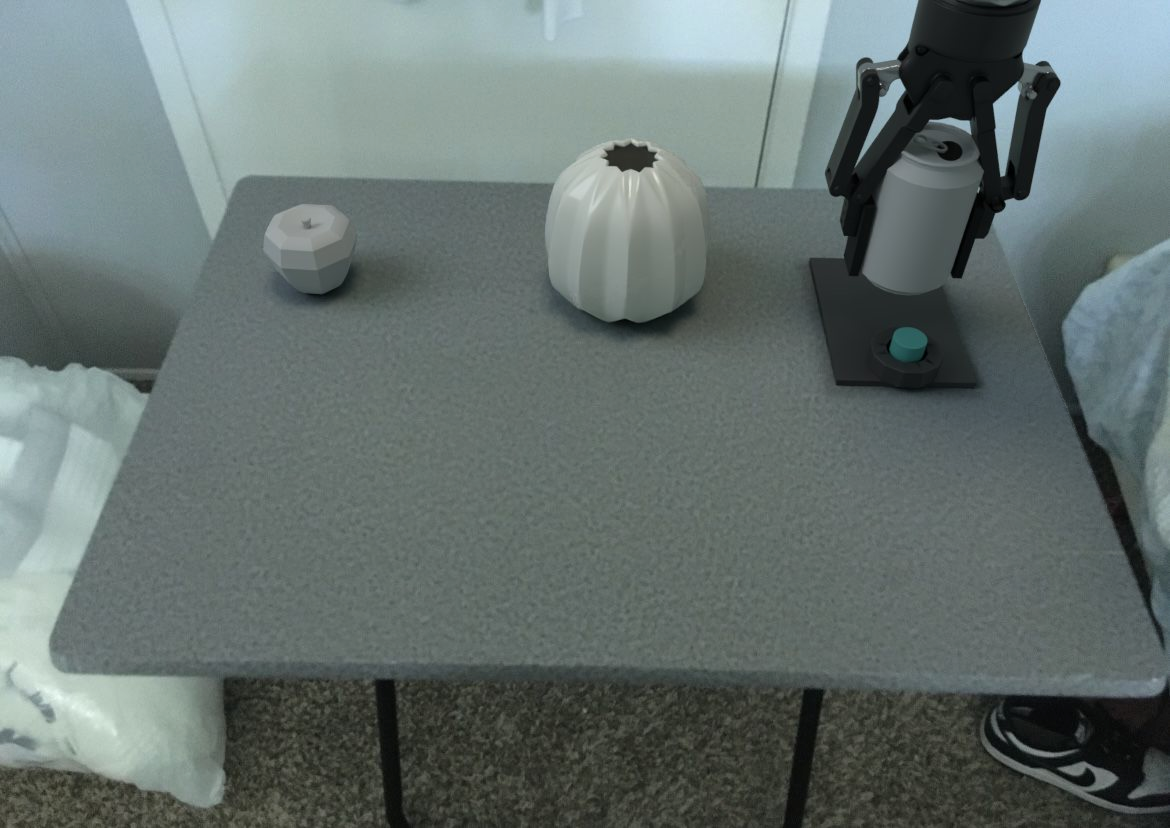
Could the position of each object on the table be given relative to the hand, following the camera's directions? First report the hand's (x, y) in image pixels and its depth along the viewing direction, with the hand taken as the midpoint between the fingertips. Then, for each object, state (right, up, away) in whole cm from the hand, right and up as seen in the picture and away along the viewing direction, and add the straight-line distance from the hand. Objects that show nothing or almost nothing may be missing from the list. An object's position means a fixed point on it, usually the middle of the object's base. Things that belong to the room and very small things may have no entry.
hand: (902, 266), depth 83 cm
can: (0, -1, +1) cm, 1 cm away
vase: (-22, -1, +6) cm, 23 cm away
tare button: (0, -7, -1) cm, 7 cm away
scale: (0, -4, +4) cm, 6 cm away
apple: (-49, 0, +7) cm, 49 cm away
